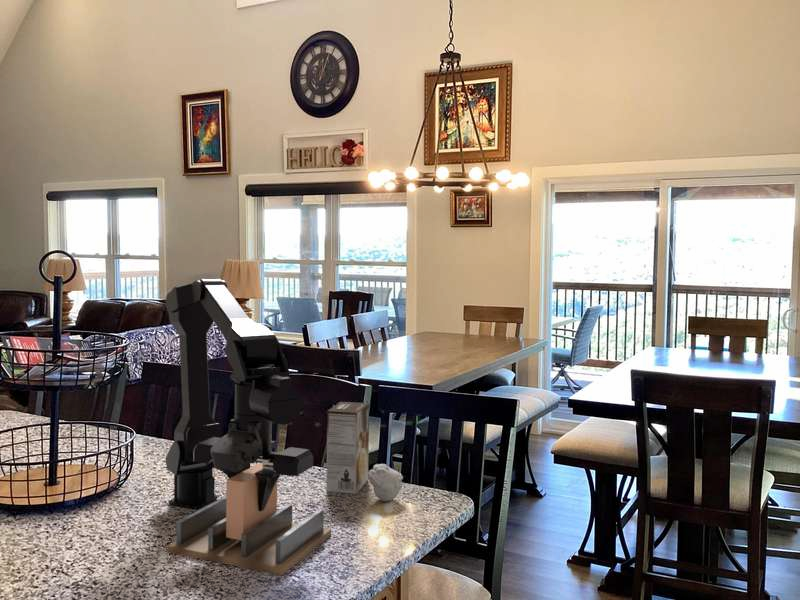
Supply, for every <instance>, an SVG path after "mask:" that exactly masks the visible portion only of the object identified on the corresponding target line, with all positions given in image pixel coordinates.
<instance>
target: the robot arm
mask: <svg viewBox="0 0 800 600" xmlns="http://www.w3.org/2000/svg"><path fill="white" fill-rule="evenodd" d="M165 308H166V311H167V313H168V320H169V324H170V325H171V326H172V327H173V329H174V330H175V332H176V333H177V334H178V337H179V352H180V353H179V356H180V357H179V360H180V379H181V381H180V383H181V384H180V385H181V403H182V416H181V417H180V420H179V422H178V424H177V425H176V426H175V429H174V432H173V433H174V434H173V435H174V436H173V442H172V444H171V446H170V448H169V450H168V452H167V454H166V456H165V466H166V470H167V471H168V472H170V473H172V474H173V478H174V479H173V497H174V498H172V499H170V500H168V504H169V505H172V506H178V507H184V508H189V509H198V510H199V509H201V507H202V508H203V507H205V506H207V505H209V504H211V503H212V502H214V501H216V500H218V498H219V497H218V495H217V494H215V481H216V480H215V479H216V478H215V476H213V475H214V474H213V473H214V470H218V471H221V472H222V473H224V475H226V476H227V479H229V478H231V477H233V476H235V475H237V474H239V473H241V472H243V471H245V470H247V469H249V468H251V464H254V463H258V464H259V463H262V470H260V471H258V472H256V473H255V475H256V477H257V478H258V480H259V486H258V509H259V511H263V510H264V509H265V506H266V504H267V502H268V500H269V497H270V495H271V493H272V490H273V488H274V486H275V484H276V482H277V483H278V480H279V478H280V476H287V477H297V476H300V475H301V474H303V473H304V472H307V471H308V470H309V469H311V468H313V467H314V455H313V453H312V452H311V451H310V449H307V448H301V447H293V446H292V447H291V446H290V447H288V448H286V449H284V450H281V451H279V452H278V451H272V450H273V449H275V448H276V443H277V442H276V441H275V440H272V425H273V424H278V425H283V426H284V425H285V426H286V425H289V424H291V423H293V422H295V420H297V419H298V418H299V416H300V415H301V411H302V409H303V404H304V403H303V401H304V400H303V398H302V396H301V393H300V392H299V390H298V389H297V388H295V387H293V386H292V378H291V377H290V375H291V373H290V370H289V366H290V365H289V363H288V360H287V358H286V357H285V354H284V352H283V350H282V347H281V344H280V341H279V340H278V338H277V337H278V336H276V334H275V333H274V332H273V331H272V330H270V328H268V327H267V326H265V325H263V324H261V323H257V322H255V321H253V320H252V319H251V318H250V317H249V316H248V314H247V313H246V312H245V310H244V309H243V308H242V307H241V305H240V304H239V303H238V301H237V300H236V298H235V297H234V296H233V294H232V293H231V292H230V290H229V289H228V285H227V282H226V281H225V280H222V279H221V278H213V279H212V278H208V279H206V278H201V279H200V278H199V279H198V280H194V281H193V282H192V283H188V284H186V285H182V286H174V287H173V288H171V290H170V291H169V292H168V293H167V294H166V297H165ZM213 323H214V324H215V326H216V327H217V328H218V330H219V331H220V332H221V334H222V336H223V337H224V339H225V341H226V344H225V349H224V353H225V355H226V357H227V361H228V363H229V364H230V366H231V368H232V370H233V372H232V373H231V375H230V380H232V381H234V418H232V419H230V420H229V423H228V430H227V433H226V434H225V435H223V436H222V432H223V431H222V430H223V429H222V425H221V424H220V423H219V422H218V423H217V421H216V420H215V419H214V417H213V416H212V414H211V403H210V402H211V401H210V384H209V383H210V382H209V378H210V376H209V361H208V360H209V359H208V357H209V356H208V338H207V336H208V333H209V331H210V329H211V327H212V325H213Z"/></svg>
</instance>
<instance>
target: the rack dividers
mask: <svg viewBox="0 0 800 600" xmlns="http://www.w3.org/2000/svg"><path fill="white" fill-rule="evenodd" d="M324 514H325V509H324V508H318V509H317V510H316V511H314V512H313V513H311V514H310V515H309V516H307V517H306V518H304V519H303V520H301V521H300V522H298V524H297V525H296V526H295V527H293V528H292V529H290V530H289V531H288V532H286V533H285V534H283V535H282V536H281V537H279V538H278V539H276V555H275V564H281V563H283V562H284V561H285V560H287V559H288V558H289V557H290V556H292V555H293V554H294V553H295V552H297V551H298V550H299V549H301V548H302V547H303V546H304V545H306V544H307V543H308V542H309V541H311V540H312V539H313V538H315V537H316V536H317V535H318V534H320V533H321V532H322V531H323V530H324V528H325V526H324V521H325V517H324V516H325V515H324ZM175 522H176V525H175V527H176V528H175V529H176V534H175V535H176V537H175V538H176V540H175V541H176V544H178V545H182V544H183V543H185V542H187V541H189V540H190V539H192V538H194V537H195V536H197V535H199V534H201V533H202V532H204V531H206V530H207V529H208V550H209V551H214V550H216V549H217V548H219V547H220V546H222V545H223V544H225V543H226V542H228V541H230V540H231V539H232V538H227V537H226V495H224V496H222V497H221V498H219V499H216V500H214V501H212V502H210V503H208V504H206V505H205V506H203V507H202V508H199V509H198V510H197V511H195V512H193V513H190V514H188V515H187V516H184V517H183V518H181V519H179V520H177V521H175ZM292 523H293V504H291V503H288V504H285V505H284V506H282V507H280V508H279V509H277V511H276V512H275V513H273V514H271V515H270V516H268V517H267V518H265V519H264V520H262V521H261V522H259V523H257V524H256V525H254V526H253V527H251V528H250V529H248V530H247V531H245V532H243V533H242V534H241V557H244V558H246V557H248V556H249V555H250V554H252V553H253V552H255V551H256V550H258V549H259V548H260V547H262V546H263V545H265V544H266V543H267V542H269V541H270V540H272V539H273V538H275V537H276V536H277V535H279V534H280V533H282V532H283V531H284V530H286V529H287V528H289V527H290V526H292Z"/></svg>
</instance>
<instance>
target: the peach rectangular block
mask: <svg viewBox="0 0 800 600" xmlns="http://www.w3.org/2000/svg"><path fill="white" fill-rule="evenodd" d="M260 470H262V463H259V462H258V463H257V464H255V465H253V466H250V468H249V469H247V470H245V471H243V472H241V473H239V474H237V475H235V476H233V477H231V478H227V479H226V495H225V496H226V537H227V538H232V539H237V540H241V534H242V533H243V532H245V531H247V530H248V529H250V528H251V527H253V526H254V525H256V524H257V523H259V522H261V521H262V520H264V519H265V518H267V517H268V516H270V515H271V514H273V513H275V512H276V511H278V481H277V482H276V484H275V486H274V488H273V490H272V493H271V495H270V497H269V500H268V502H267V504H266V506H265V509H264V510H263V511H259V509H258V486H259V480H258V478H257V477H256V475H255V473H256V472H258V471H260Z"/></svg>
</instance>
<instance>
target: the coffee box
mask: <svg viewBox="0 0 800 600" xmlns="http://www.w3.org/2000/svg"><path fill="white" fill-rule="evenodd" d="M326 414H327V415H326V416H327V417H326V425H327V426H326V490H325V491H326V492H330V493H341V494H342V493H344V494H354V495H355V494H356V493H357V494H358V492H360V490H361V489H362V488H363V486H365V484H366V483H367V481H369V480H368V476H369V475H368V473H367V472H369V446H370V445H369V444H370V442H369V438H370V437H369V436H370V434H369V432H370V402H369V403H368V402H354V401H353V402H352V401H339V402H338V403H336V405H334V406H332V407H331V408H330V409H328V410H327V413H326ZM357 494H356V495H357Z"/></svg>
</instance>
